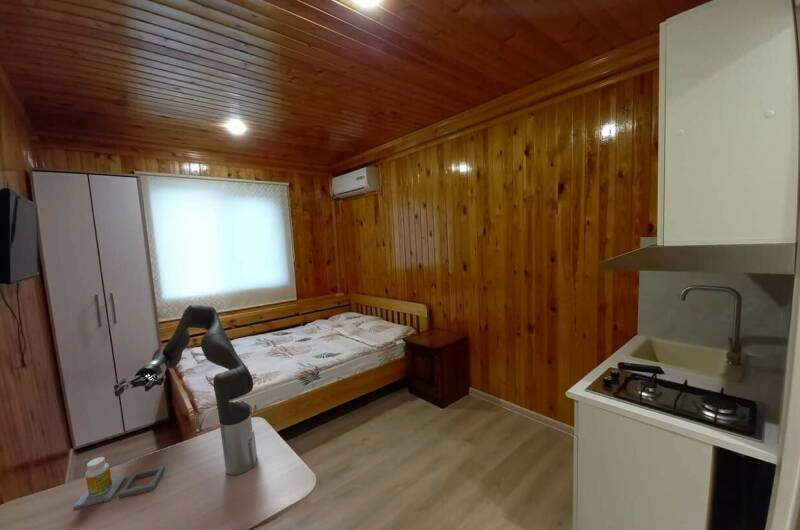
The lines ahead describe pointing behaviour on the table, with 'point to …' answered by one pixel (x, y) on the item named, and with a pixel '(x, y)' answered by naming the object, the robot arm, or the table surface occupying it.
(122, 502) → the table surface
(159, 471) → the collar
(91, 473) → the supplement bottle
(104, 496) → the board
